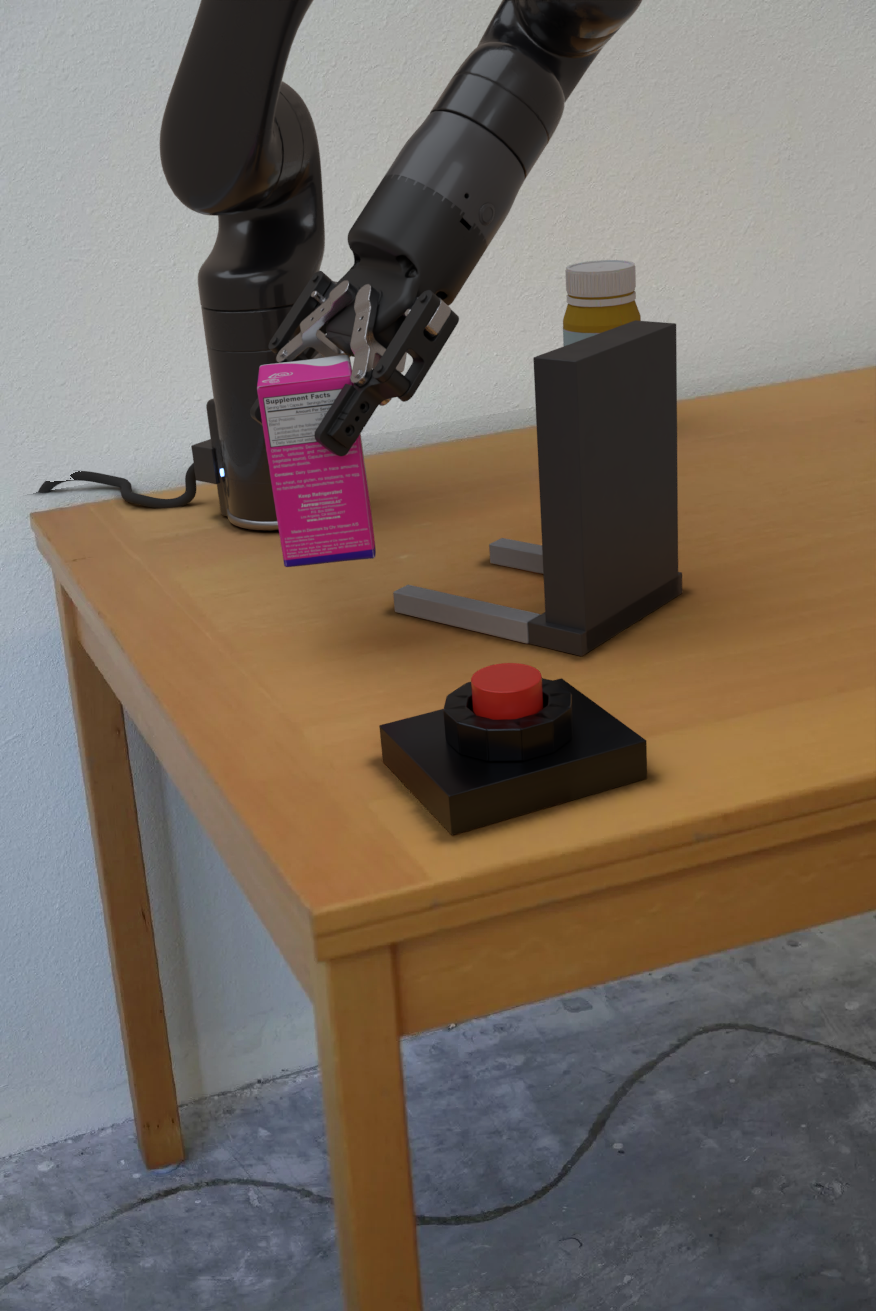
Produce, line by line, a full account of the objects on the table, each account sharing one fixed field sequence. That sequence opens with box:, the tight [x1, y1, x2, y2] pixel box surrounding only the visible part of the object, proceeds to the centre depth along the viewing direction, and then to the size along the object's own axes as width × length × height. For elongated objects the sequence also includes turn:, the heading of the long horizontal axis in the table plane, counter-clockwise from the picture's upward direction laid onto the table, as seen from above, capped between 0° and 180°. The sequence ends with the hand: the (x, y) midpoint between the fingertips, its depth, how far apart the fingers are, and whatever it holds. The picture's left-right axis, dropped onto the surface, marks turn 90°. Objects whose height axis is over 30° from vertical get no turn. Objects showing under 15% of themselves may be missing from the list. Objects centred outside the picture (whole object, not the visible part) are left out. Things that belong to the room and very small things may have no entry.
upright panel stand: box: [392, 320, 683, 657], centre depth 95 cm, size 15×12×18 cm
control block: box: [379, 677, 648, 836], centre depth 76 cm, size 11×9×4 cm
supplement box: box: [257, 355, 377, 568], centre depth 90 cm, size 6×6×12 cm
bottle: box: [562, 259, 642, 347], centre depth 134 cm, size 7×7×15 cm
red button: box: [470, 662, 543, 720], centre depth 75 cm, size 4×4×2 cm
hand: (294, 436), depth 89 cm, fingers closed on supplement box, 7 cm apart
